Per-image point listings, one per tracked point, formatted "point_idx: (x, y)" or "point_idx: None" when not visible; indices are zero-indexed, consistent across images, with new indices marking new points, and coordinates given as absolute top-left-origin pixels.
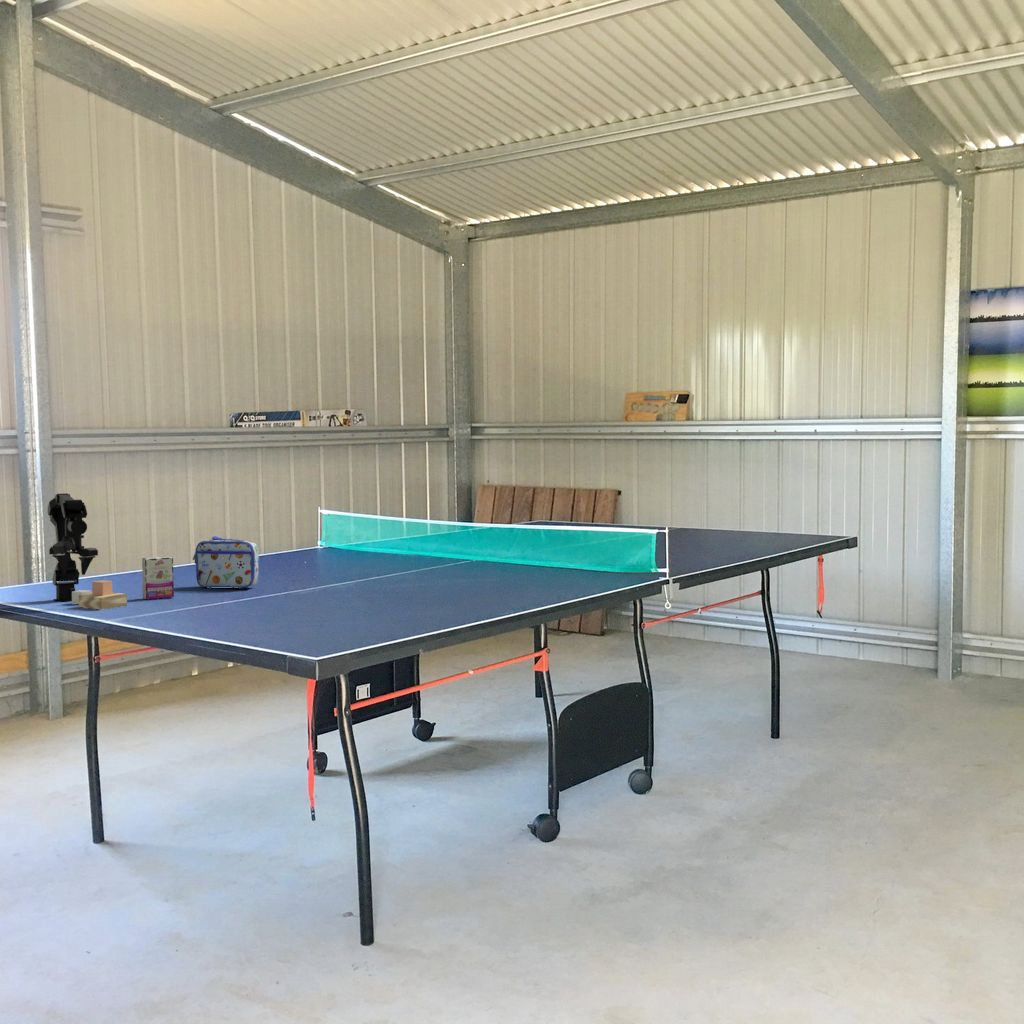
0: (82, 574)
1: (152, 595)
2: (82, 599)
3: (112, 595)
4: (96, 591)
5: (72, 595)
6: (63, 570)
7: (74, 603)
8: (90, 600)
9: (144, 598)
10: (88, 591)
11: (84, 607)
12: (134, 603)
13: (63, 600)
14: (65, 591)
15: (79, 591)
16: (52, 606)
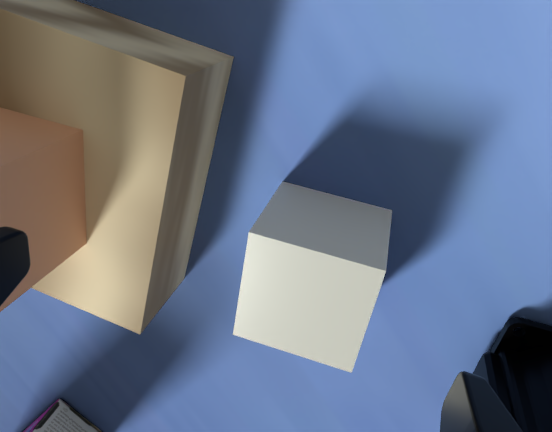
0: (9, 228)
1: (29, 427)
2: (153, 51)
3: None
4: (7, 128)
5: (380, 247)
6: (470, 415)
7: (363, 205)
8: (48, 13)
9: (84, 423)
10: (239, 301)
11: (165, 34)
12: (29, 294)
13: (537, 325)
14: (546, 406)
15: (307, 278)
16: (518, 46)
